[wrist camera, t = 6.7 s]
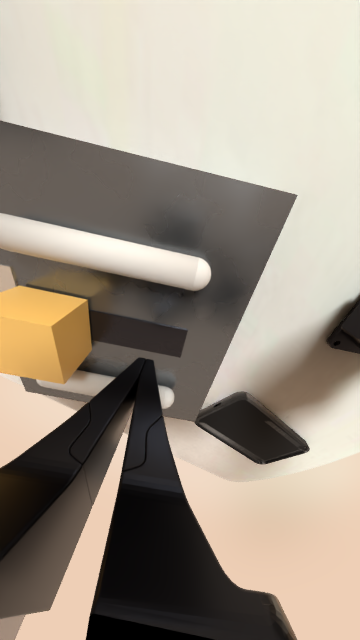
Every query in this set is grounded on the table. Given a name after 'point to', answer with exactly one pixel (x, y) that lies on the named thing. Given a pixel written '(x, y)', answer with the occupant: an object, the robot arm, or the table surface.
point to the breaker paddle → (43, 334)
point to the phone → (251, 429)
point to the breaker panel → (146, 229)
